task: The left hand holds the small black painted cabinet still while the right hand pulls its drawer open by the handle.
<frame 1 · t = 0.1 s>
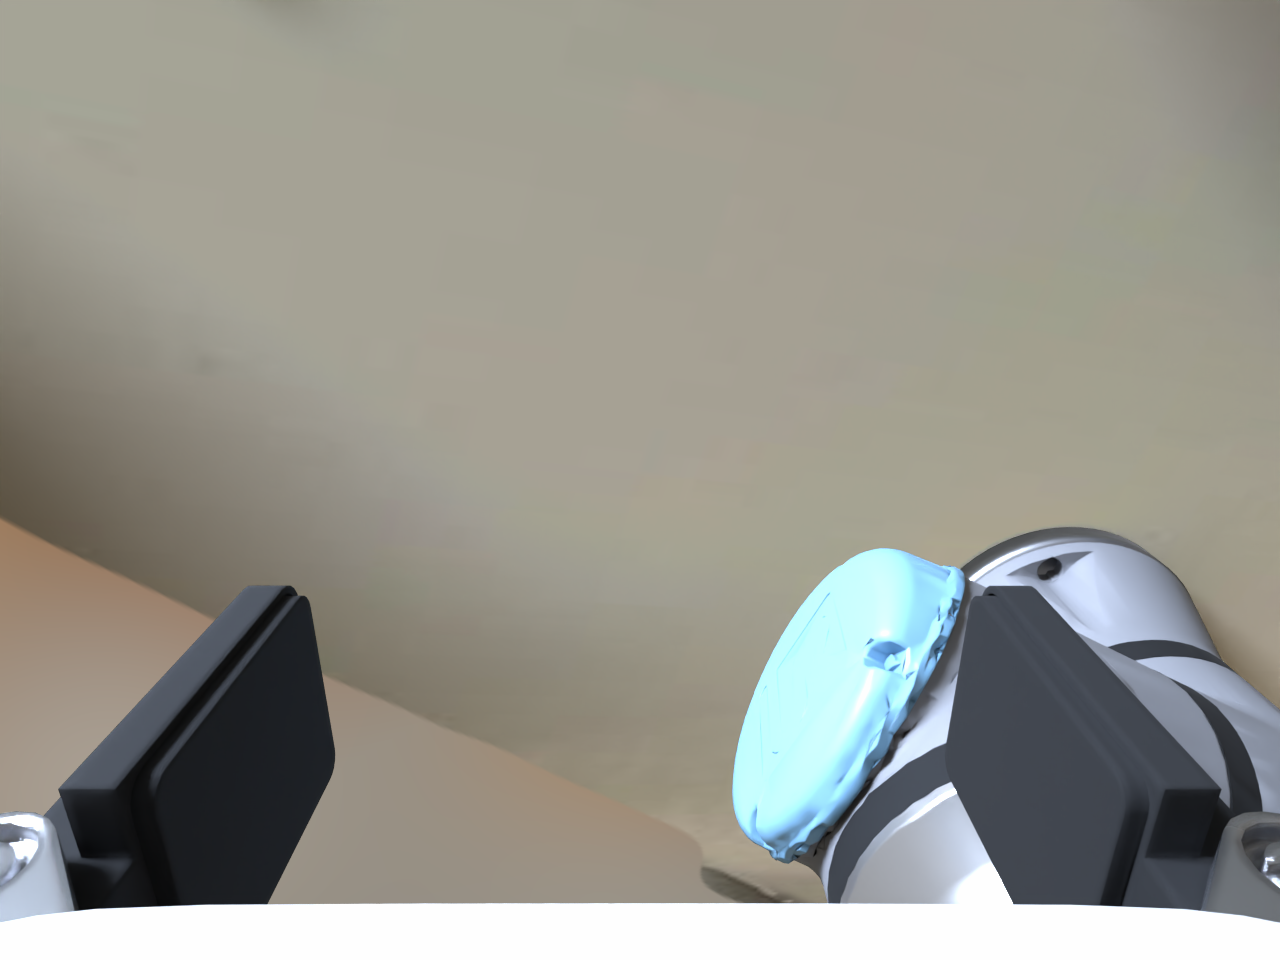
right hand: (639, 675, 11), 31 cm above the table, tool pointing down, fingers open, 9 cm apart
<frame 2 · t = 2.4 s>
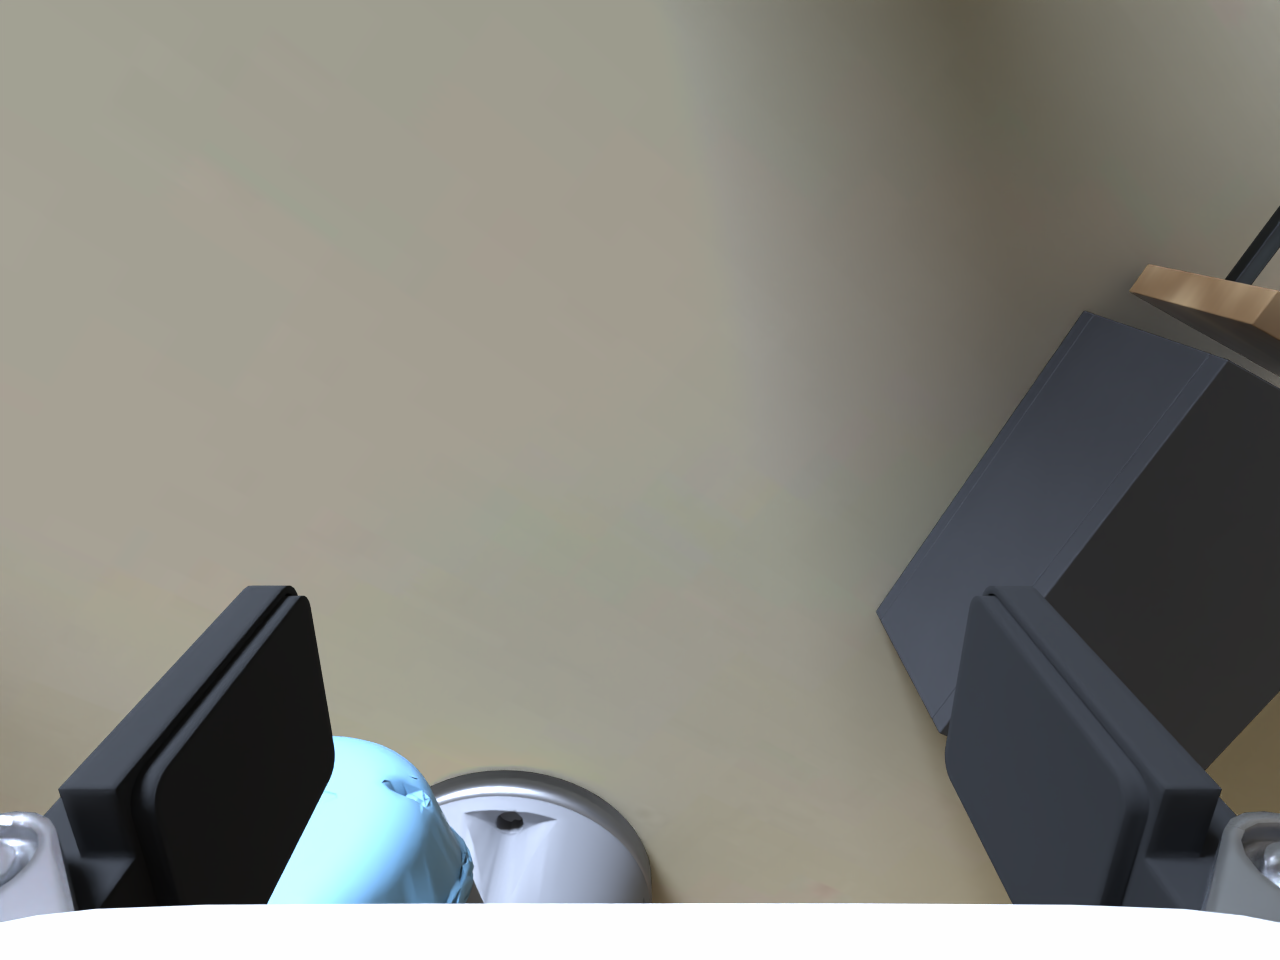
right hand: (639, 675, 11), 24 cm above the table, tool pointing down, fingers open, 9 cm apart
drawer: (1217, 438, 31), point 4 cm above the table, slide at 1.3 cm
cabinet: (1064, 518, 37), on the table
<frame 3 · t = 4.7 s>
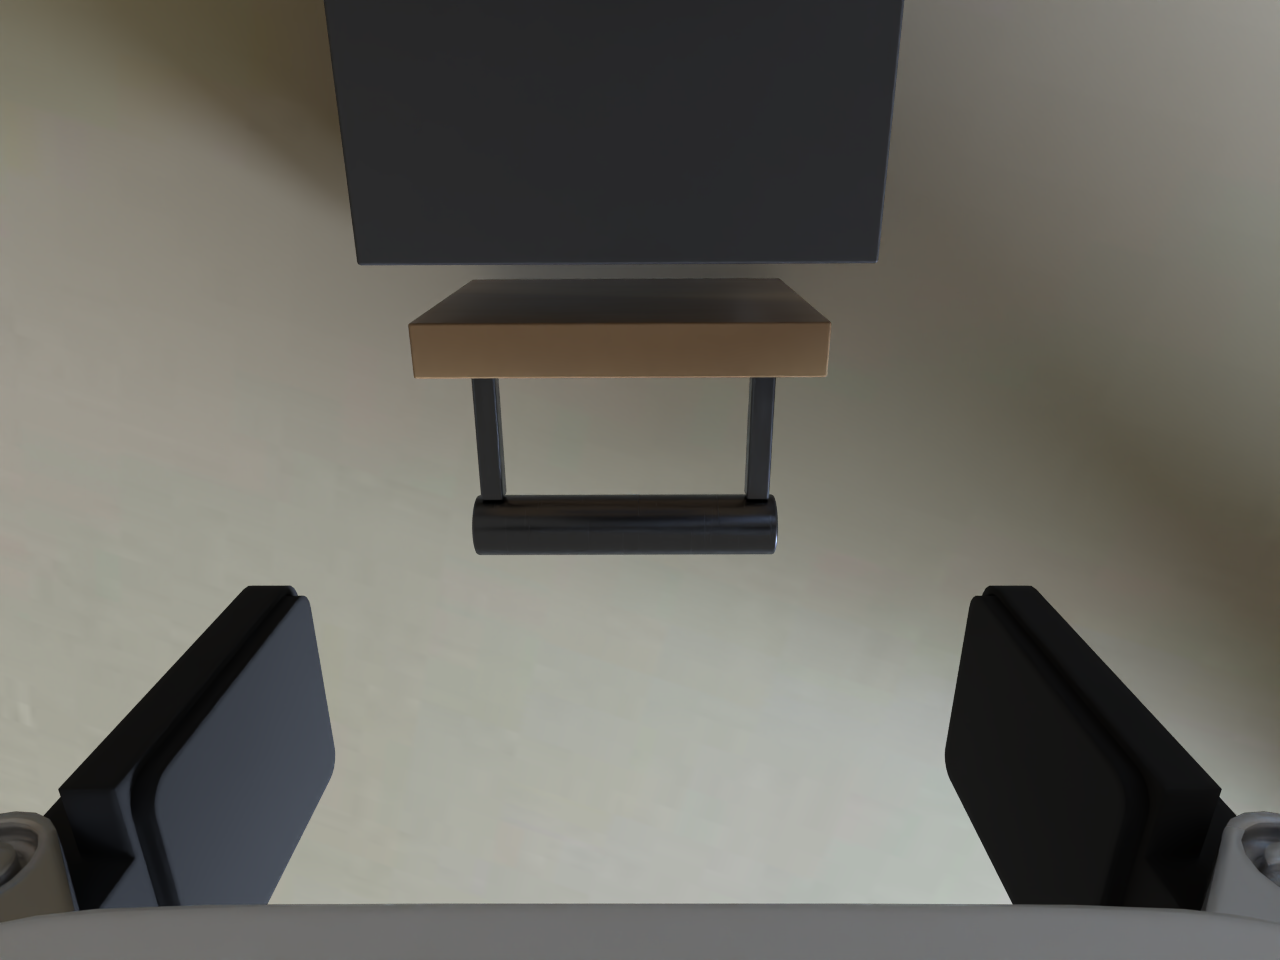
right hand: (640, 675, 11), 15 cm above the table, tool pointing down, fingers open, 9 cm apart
drawer: (621, 155, 19), point 4 cm above the table, slide at 1.3 cm
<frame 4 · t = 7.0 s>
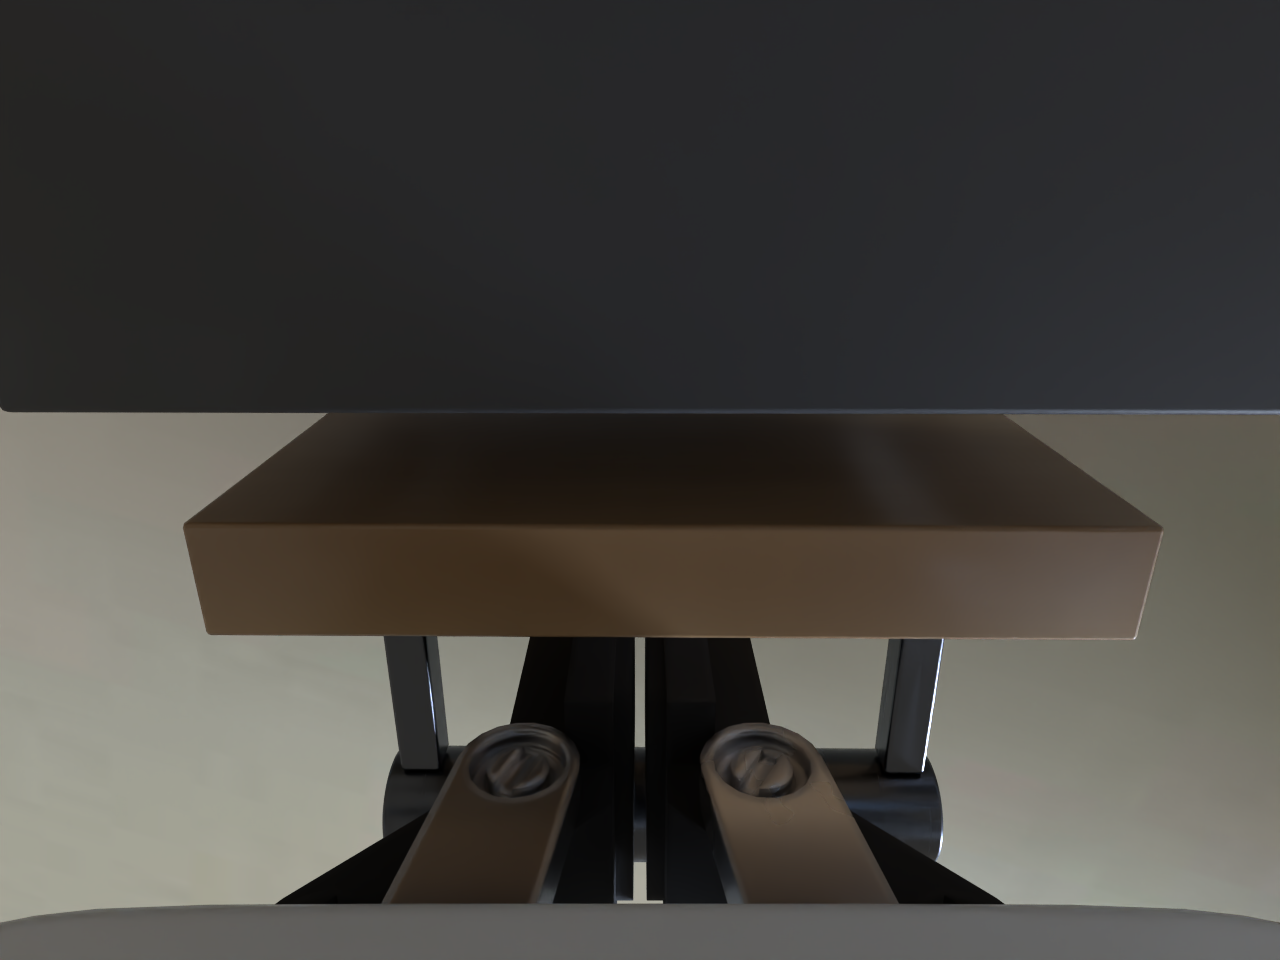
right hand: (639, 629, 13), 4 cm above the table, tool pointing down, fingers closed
drawer: (666, 141, 9), point 4 cm above the table, slide at 1.3 cm, touching right hand
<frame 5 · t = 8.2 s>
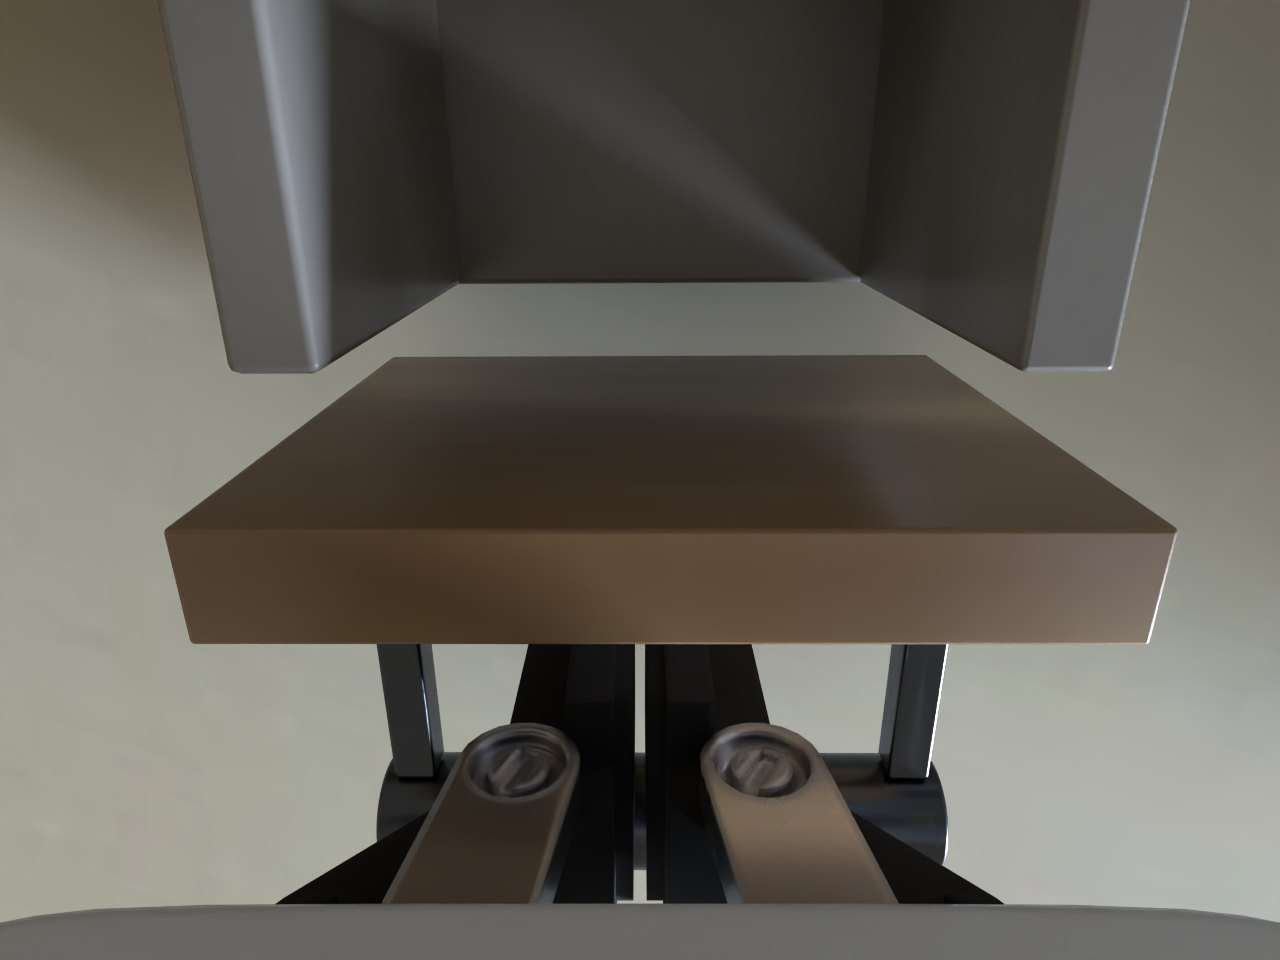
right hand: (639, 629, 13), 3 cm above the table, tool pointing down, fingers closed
drawer: (662, 133, 9), point 4 cm above the table, slide at 8.6 cm, touching right hand
when the left hand's fingers open (4 cm above the table, at t = 9.9 s): cabinet stays where it is, on the table.
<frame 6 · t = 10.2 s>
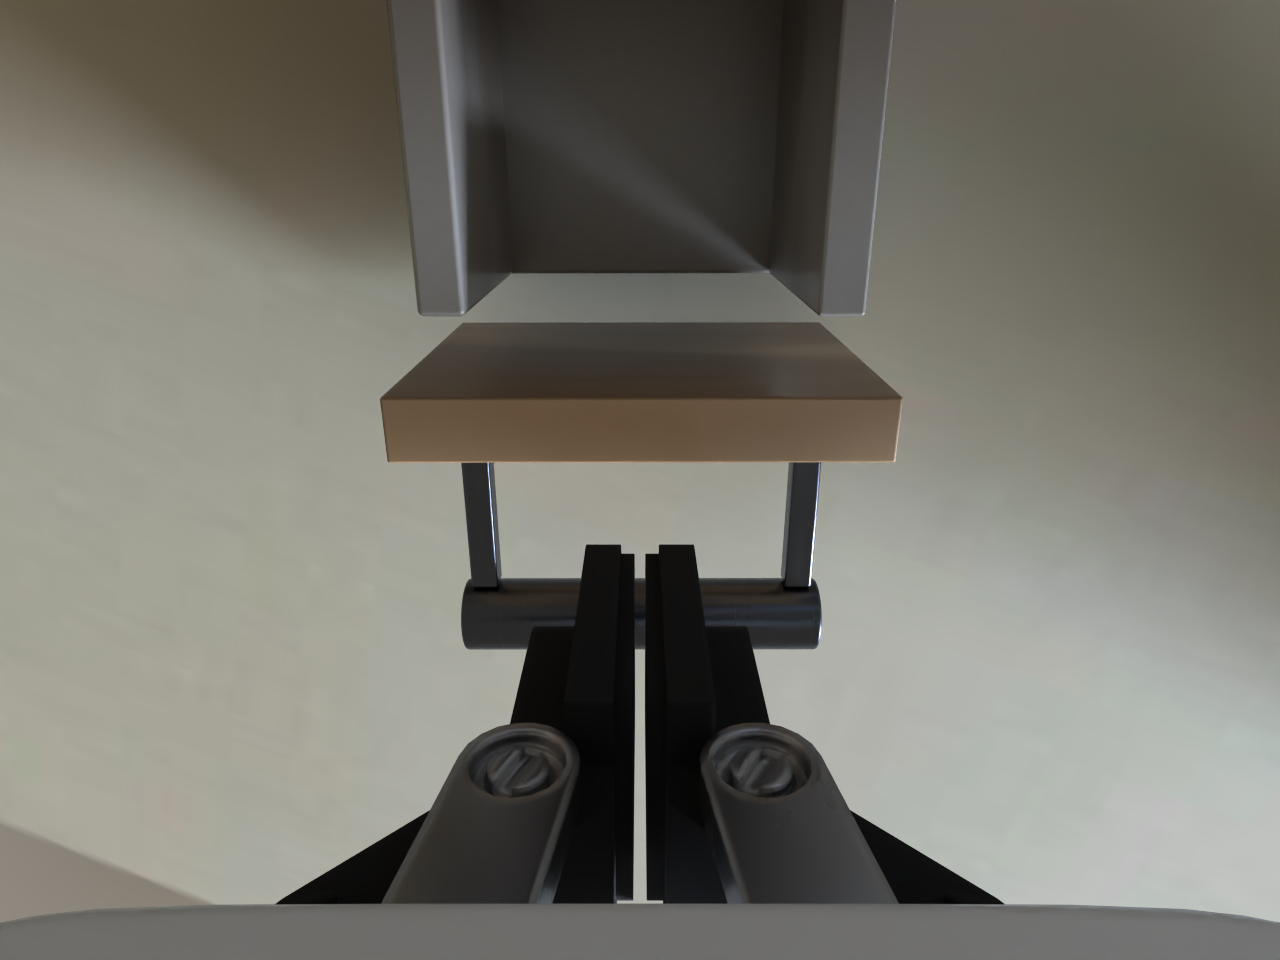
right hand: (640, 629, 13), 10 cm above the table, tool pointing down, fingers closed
drawer: (641, 185, 16), point 4 cm above the table, slide at 8.6 cm
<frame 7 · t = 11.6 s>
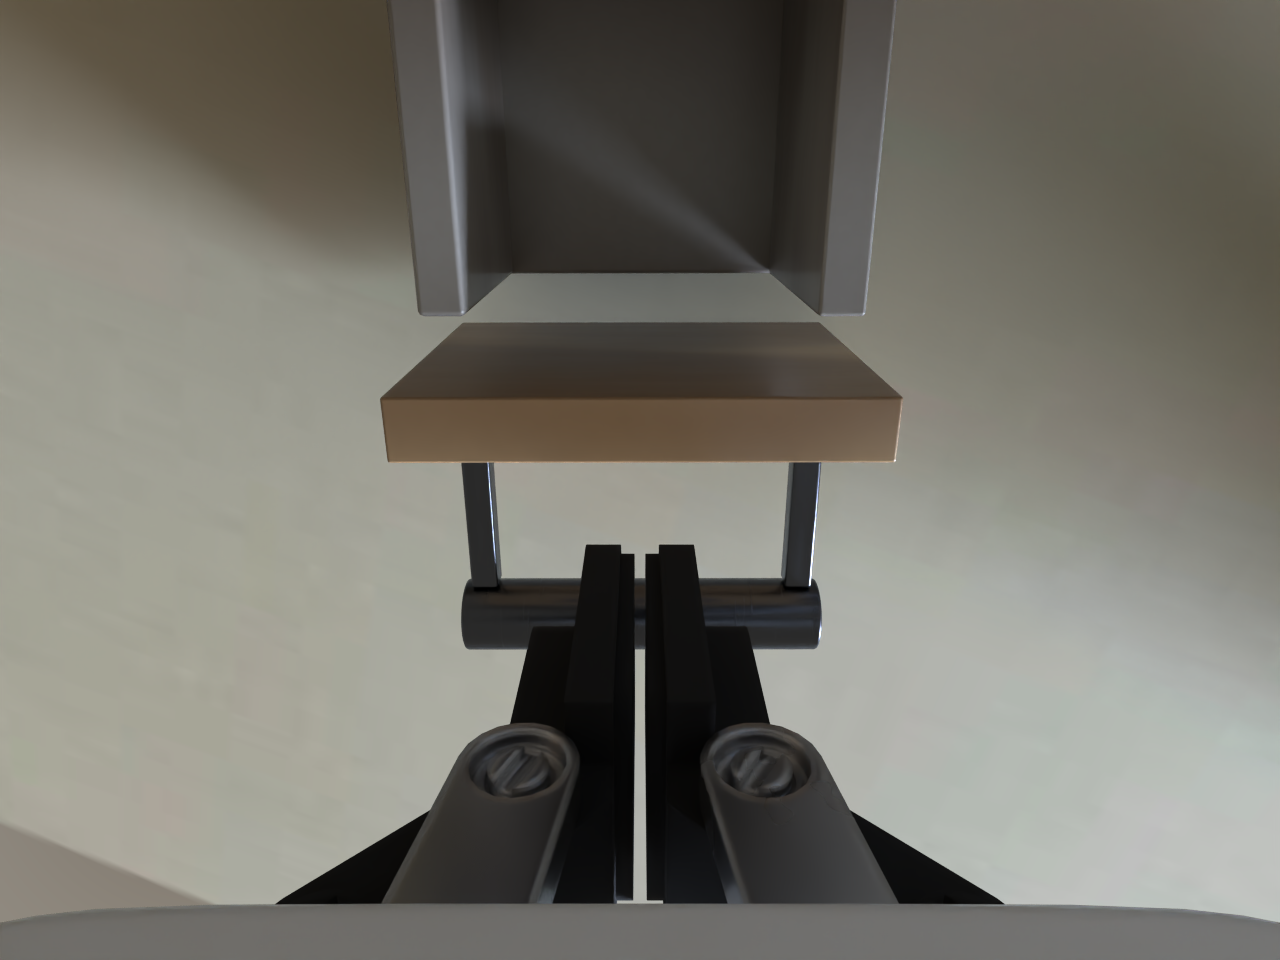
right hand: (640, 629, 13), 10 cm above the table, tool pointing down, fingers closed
drawer: (641, 185, 16), point 4 cm above the table, slide at 8.6 cm
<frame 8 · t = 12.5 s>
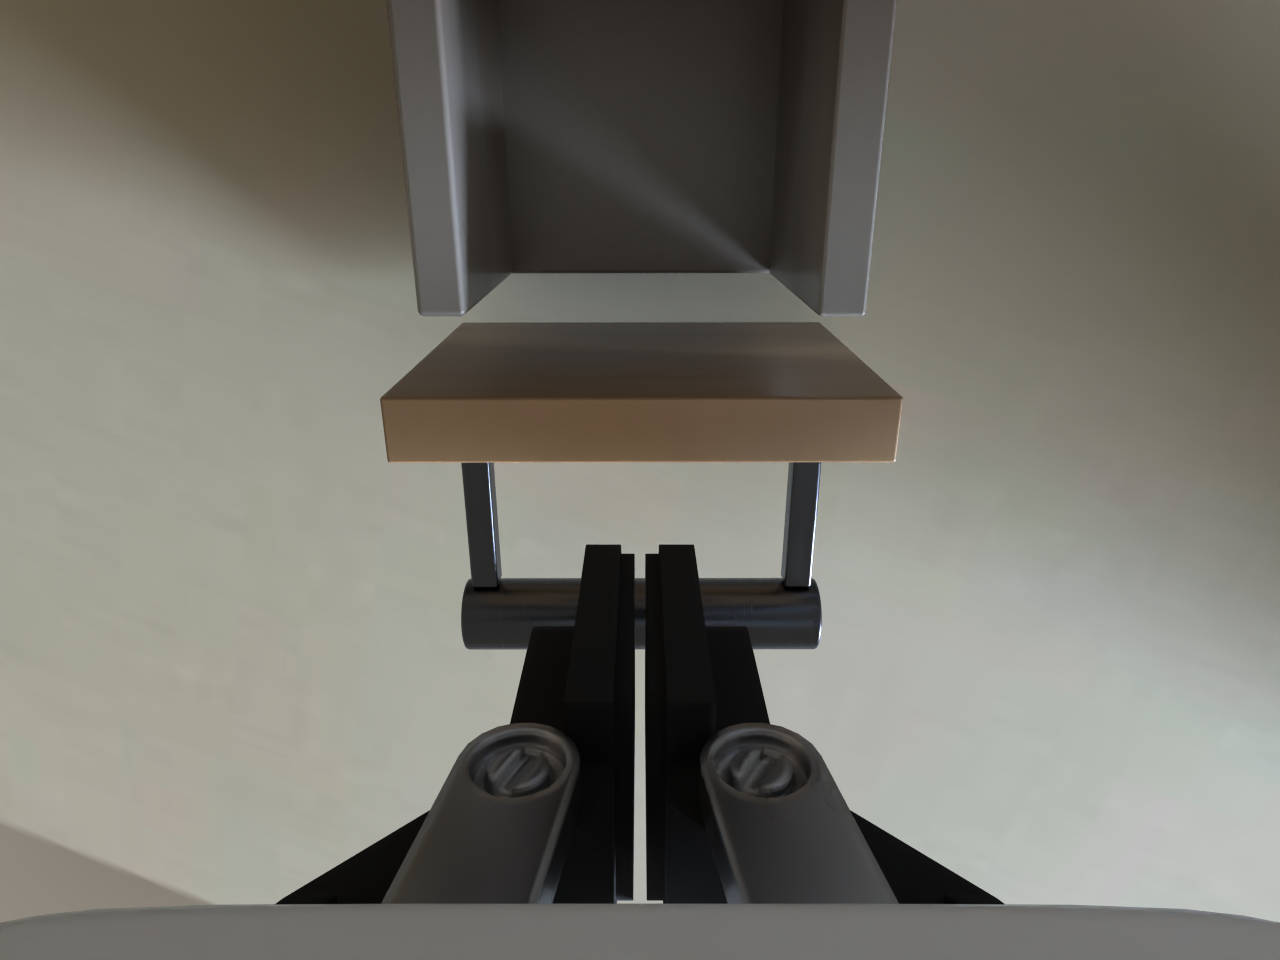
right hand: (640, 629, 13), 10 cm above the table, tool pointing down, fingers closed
drawer: (641, 185, 16), point 4 cm above the table, slide at 8.6 cm
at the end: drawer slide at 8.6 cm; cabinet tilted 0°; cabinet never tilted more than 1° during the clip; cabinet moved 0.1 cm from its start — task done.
